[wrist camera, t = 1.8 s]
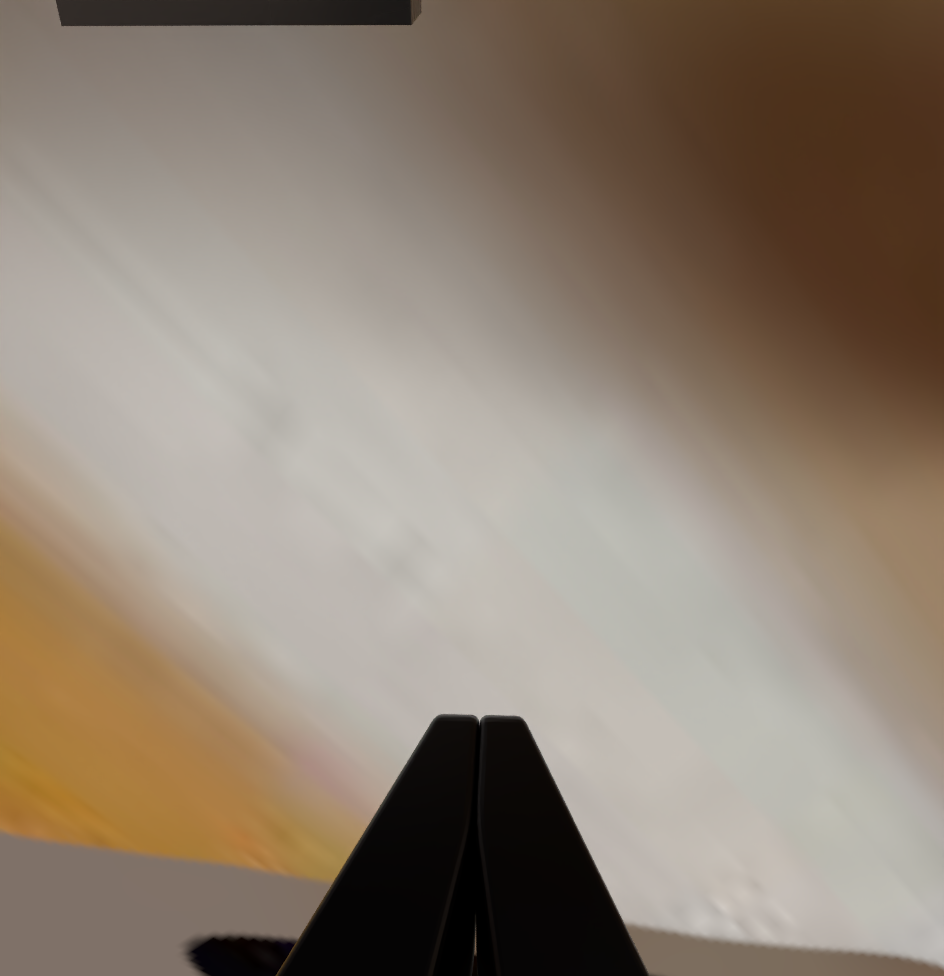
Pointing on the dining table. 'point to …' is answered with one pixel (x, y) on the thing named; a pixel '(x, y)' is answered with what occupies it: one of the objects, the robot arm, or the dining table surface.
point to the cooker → (237, 12)
